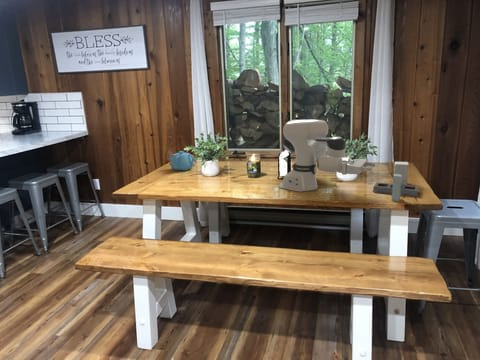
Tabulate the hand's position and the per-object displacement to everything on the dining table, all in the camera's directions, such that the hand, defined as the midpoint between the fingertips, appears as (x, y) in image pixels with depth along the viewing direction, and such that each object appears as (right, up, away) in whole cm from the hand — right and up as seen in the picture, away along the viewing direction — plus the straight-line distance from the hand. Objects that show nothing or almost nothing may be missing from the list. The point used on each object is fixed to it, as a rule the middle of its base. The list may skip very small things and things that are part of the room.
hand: (373, 167), depth 200 cm
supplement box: (+24, -9, +24) cm, 35 cm away
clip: (+11, -17, -2) cm, 20 cm away
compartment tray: (+16, -13, +11) cm, 23 cm away
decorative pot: (-111, +1, +82) cm, 138 cm away
